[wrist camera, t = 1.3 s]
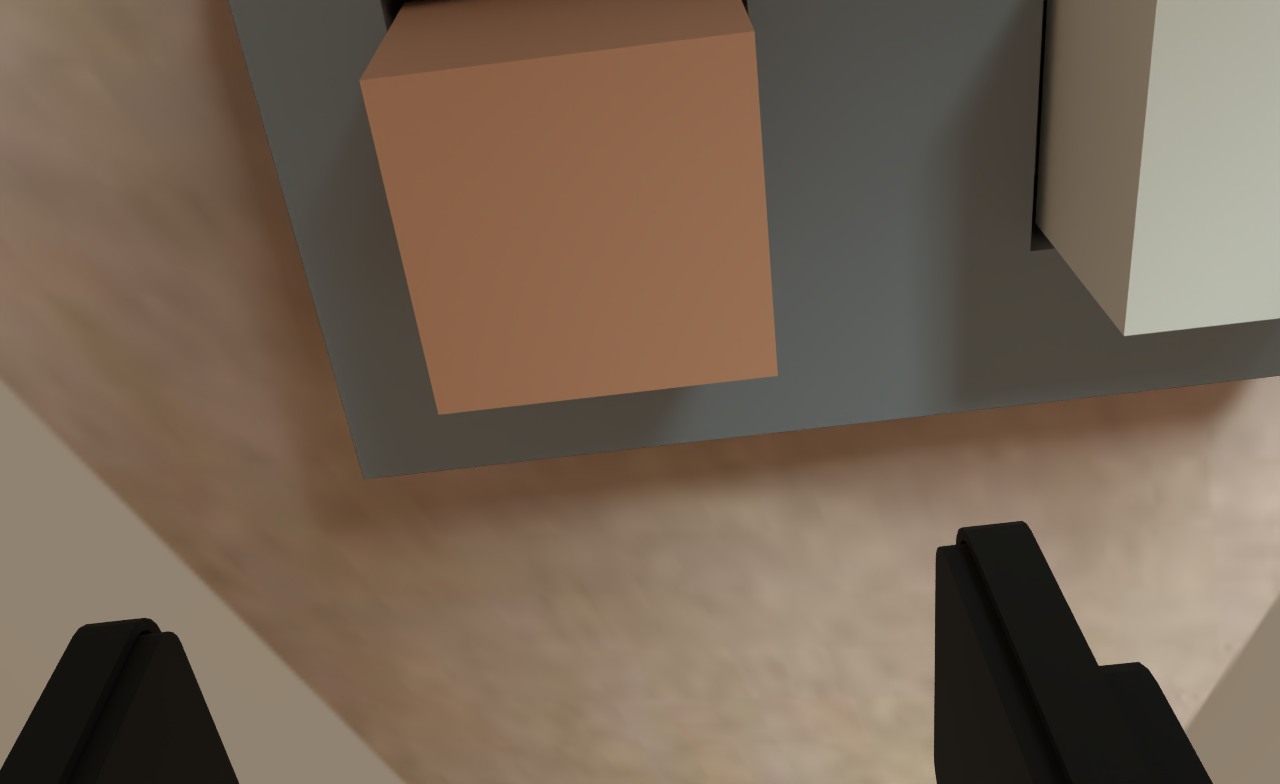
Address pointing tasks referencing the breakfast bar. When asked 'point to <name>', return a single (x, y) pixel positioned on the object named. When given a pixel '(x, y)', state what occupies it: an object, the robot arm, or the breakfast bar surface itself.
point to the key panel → (797, 230)
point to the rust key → (576, 195)
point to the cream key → (1164, 157)
